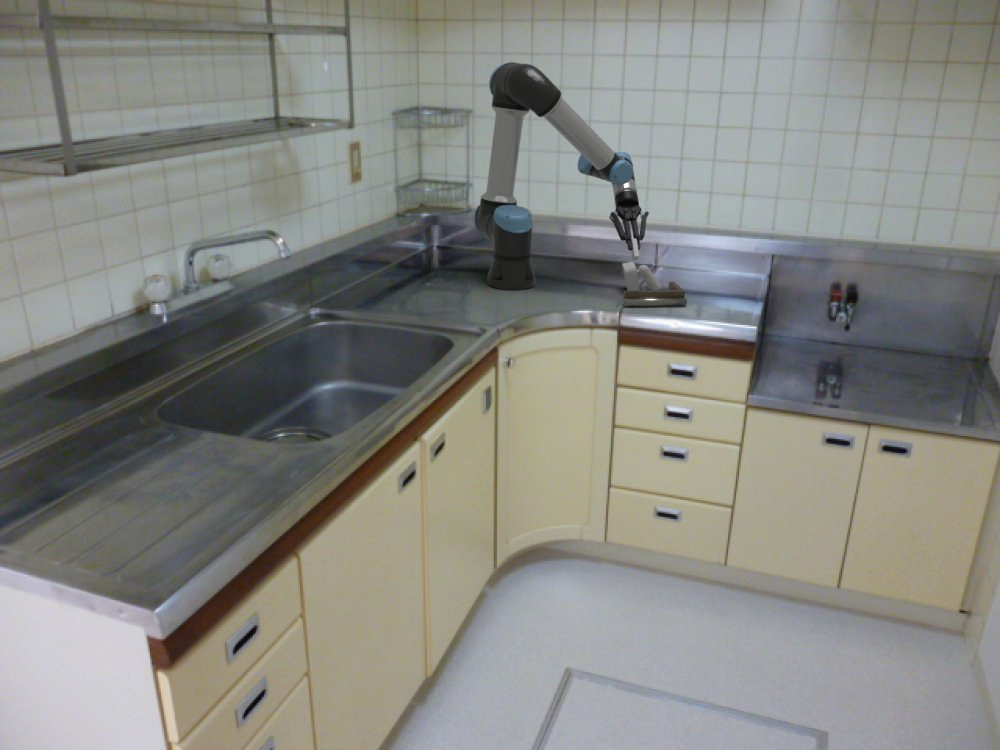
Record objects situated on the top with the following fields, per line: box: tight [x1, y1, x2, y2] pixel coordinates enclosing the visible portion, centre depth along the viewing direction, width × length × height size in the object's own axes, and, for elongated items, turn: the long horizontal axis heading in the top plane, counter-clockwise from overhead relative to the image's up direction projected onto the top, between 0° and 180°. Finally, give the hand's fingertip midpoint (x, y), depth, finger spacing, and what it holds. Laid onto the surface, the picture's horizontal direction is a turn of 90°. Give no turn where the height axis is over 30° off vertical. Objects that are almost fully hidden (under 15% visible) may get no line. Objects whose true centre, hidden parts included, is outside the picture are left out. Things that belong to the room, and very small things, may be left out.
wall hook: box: [621, 261, 662, 291], centre depth 255 cm, size 8×10×10 cm
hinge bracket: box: [622, 281, 688, 307], centre depth 247 cm, size 18×13×4 cm
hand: (636, 258), depth 264 cm, fingers closed
